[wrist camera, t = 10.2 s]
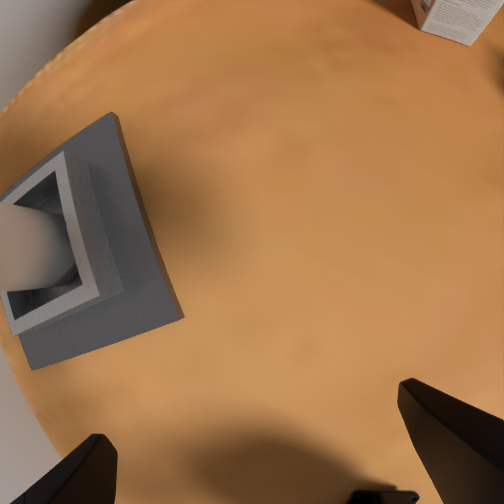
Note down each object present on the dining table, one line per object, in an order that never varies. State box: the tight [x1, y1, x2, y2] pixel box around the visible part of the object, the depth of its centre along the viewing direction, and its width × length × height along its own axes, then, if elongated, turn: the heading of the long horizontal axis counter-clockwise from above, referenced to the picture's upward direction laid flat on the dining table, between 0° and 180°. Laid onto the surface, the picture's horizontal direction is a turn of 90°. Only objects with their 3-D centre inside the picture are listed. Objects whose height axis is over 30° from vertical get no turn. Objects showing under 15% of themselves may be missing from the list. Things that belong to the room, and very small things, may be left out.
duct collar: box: [0, 112, 184, 370], centre depth 19 cm, size 16×16×4 cm
